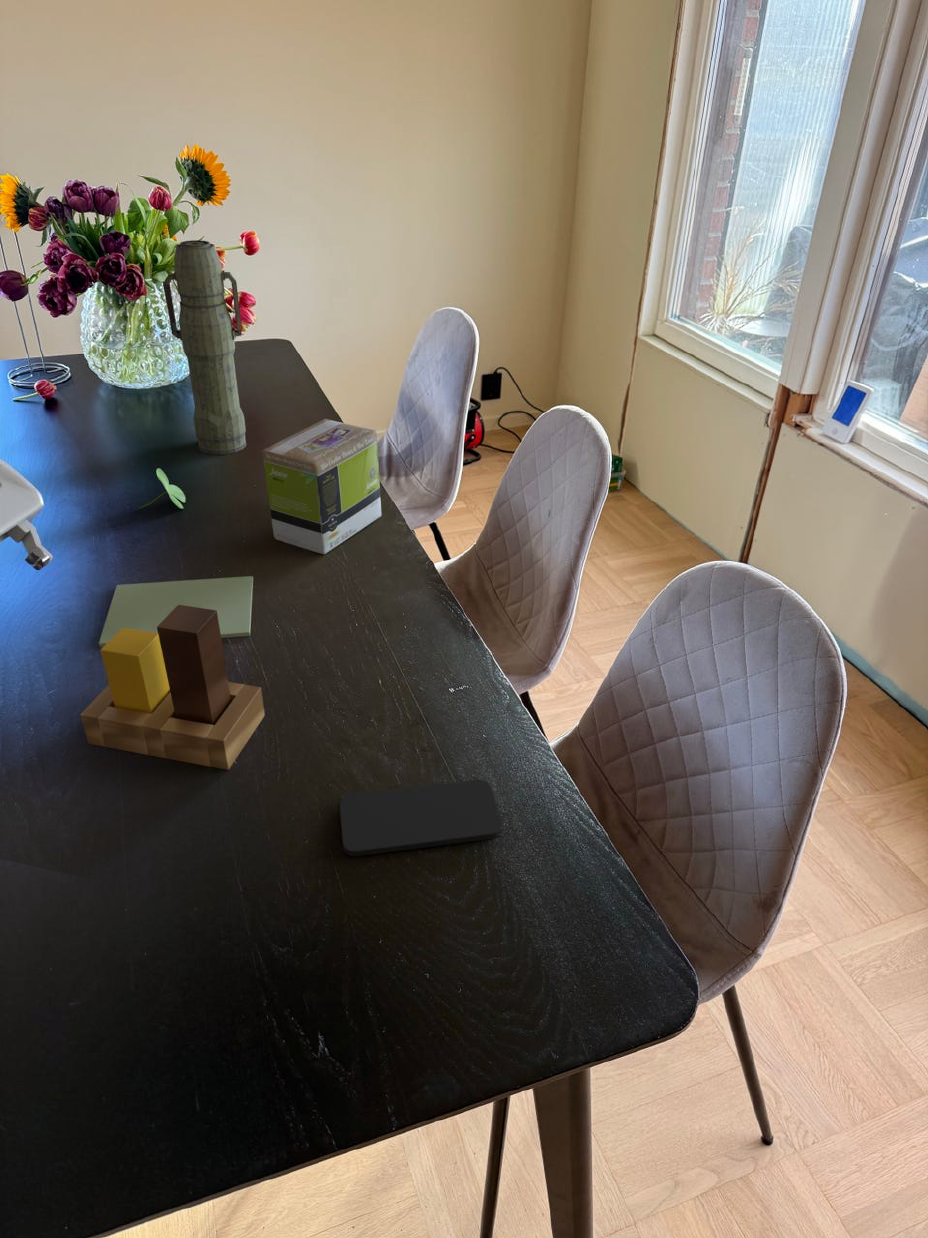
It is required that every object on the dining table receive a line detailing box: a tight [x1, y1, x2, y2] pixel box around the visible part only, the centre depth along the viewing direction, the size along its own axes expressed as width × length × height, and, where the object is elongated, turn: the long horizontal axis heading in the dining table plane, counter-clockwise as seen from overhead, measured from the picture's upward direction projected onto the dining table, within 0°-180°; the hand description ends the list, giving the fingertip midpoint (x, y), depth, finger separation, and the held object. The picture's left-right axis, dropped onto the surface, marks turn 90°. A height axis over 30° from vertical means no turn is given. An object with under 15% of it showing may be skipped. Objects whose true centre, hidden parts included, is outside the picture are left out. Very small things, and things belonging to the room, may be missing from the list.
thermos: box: [162, 239, 247, 456], centre depth 149 cm, size 9×12×35 cm
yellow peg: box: [100, 628, 170, 714], centre depth 90 cm, size 4×4×11 cm
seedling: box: [138, 468, 186, 510], centre depth 136 cm, size 7×8×7 cm
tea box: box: [262, 418, 382, 555], centre depth 128 cm, size 15×10×15 cm, turn 150°
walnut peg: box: [157, 605, 231, 725], centre depth 88 cm, size 4×4×15 cm
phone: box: [339, 779, 503, 857], centre depth 82 cm, size 7×1×15 cm
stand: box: [79, 681, 266, 771], centre depth 91 cm, size 16×9×4 cm, turn 77°
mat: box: [98, 575, 254, 648], centre depth 112 cm, size 18×14×1 cm
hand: (16, 587), depth 86 cm, fingers open, 8 cm apart
